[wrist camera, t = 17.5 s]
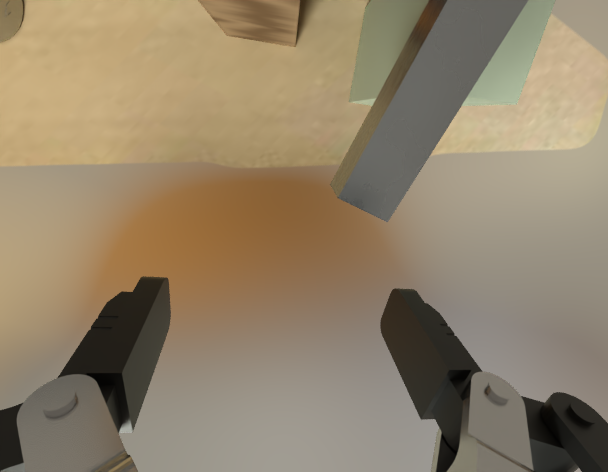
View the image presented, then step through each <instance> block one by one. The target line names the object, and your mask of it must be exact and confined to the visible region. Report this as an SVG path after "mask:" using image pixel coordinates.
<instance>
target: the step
mask: <svg viewBox="0 0 608 472" xmlns="http://www.w3.org/2000/svg"><path fill="white" fill-rule="evenodd" d="M428 1H429V0H371V1H370V2H369V4H368V5H367V6H366V8H365V13H364V19H363V24H362V30H361V36H360V41H359V47H358V53H357V58H356V64H355V70H354V75H353V81H352V87H351V92H350V98H349V102H351V103H358V104H364V105H371V106H372V105H373V104H374V102H375V100H376V98H377V96H378V94H379V92H380V90H381V89H382V87H383V85H384V83H385V81H386V79H387V77H388V76H389V74H390V72H391V70H392V68H393V66H394V64H395V62H396V61H397V59H398V57H399V55H400V53H401V51H402V49H403V48H404V46H405V44H406V42H407V40H408V38H409V36H410V34H411V33H412V31H413V29H414V27H415V25H416V23H417V21H418V20H419V18H420V16H421V14H422V12H423V10H424V8H425V6H426V5H427V3H428ZM554 3H555V0H528V2H527V3H526V5H525V6H524V8H523V10H522V11H521V13H520V14H519V16H518V18H517V19H516V21H515V22H514V24H513V25H512V27H511V29H510V30H509V32H508V33H507V35H506V36H505V38H504V40H503V41H502V43H501V44H500V46H499V47H498V49H497V51H496V52H495V54H494V55H493V57H492V58H491V60H490V62H489V63H488V65H487V66H486V68H485V70H484V71H483V73H482V74H481V76H480V77H479V79H478V81H477V82H476V84H475V85H474V87H473V88H472V90H471V92H470V93H469V95H468V96H467V98H466V99H465V101H464V103H463V104H462V106H478V105H515V104H517V103H518V100H519V97H520V94H521V92H522V89H523V86H524V84H525V81H526V78H527V76H528V73H529V70H530V68H531V65H532V62H533V59H534V57H535V54H536V51H537V49H538V46H539V43H540V41H541V38H542V35H543V33H544V30H545V27H546V24H547V22H548V19H549V16H550V14H551V11H552V8H553V5H554Z"/></svg>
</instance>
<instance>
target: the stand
mask: <svg viewBox="0 0 608 472" xmlns="http://www.w3.org/2000/svg"><path fill="white" fill-rule="evenodd" d="M198 1H199V2H200V3H201V5H202V6H203V7H204V8H205V10H206V11H207V12H208V13H209V14H210V16H211V17H212V18H213V19H214V20H215V22H216V23H217V24H218V25H219V27H220V28H221V29H222V30H223V31H224V33H225V34H226V35H227V36H232V37H238V38H244V39H250V40H256V41H262V42H268V43H274V44H280V45H286V46H292V47H295V45H296V35H297V26H298V17H299V8H300V0H198Z"/></svg>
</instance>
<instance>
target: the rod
mask: <svg viewBox="0 0 608 472" xmlns="http://www.w3.org/2000/svg"><path fill="white" fill-rule="evenodd" d="M527 2H528V0H429V1H428V3H427V5H426V6H425V8H424V10H423V12H422V14H421V16H420V18H419V20H418V21H417V23H416V25H415V27H414V29H413V31H412V33H411V34H410V36H409V38H408V40H407V42H406V44H405V46H404V48H403V49H402V51H401V53H400V55H399V57H398V59H397V61H396V62H395V64H394V66H393V68H392V70H391V72H390V74H389V76H388V77H387V79H386V81H385V83H384V85H383V87H382V89H381V90H380V92H379V94H378V96H377V98H376V100H375V102H374V104H373V105H372V107H371V109H370V111H369V113H368V115H367V117H366V118H365V120H364V122H363V124H362V126H361V128H360V130H359V132H358V133H357V135H356V137H355V139H354V141H353V143H352V145H351V146H350V148H349V150H348V152H347V154H346V156H345V158H344V160H343V161H342V163H341V165H340V167H339V169H338V171H337V173H336V175H335V176H334V178H333V180H332V182H331V184H330V185H331V187H332V188H333V190H334V192H335V194H336V196H337V197H338V198H339V199H341V200H343V201H345V202H347V203H350V204H351V205H353V206H356V207H357V208H359V209H361V210H364V211H366V212H368V213H370V214H372V215H374V216H376V217H378V218H380V219H382V220H384V221H386V222H388V221H389V219H390V217H391V216H392V214H393V213H394V211H395V210H396V208H397V207H398V205H399V203H400V202H401V200H402V199H403V197H404V196H405V194H406V192H407V191H408V189H409V188H410V186H411V184H412V183H413V181H414V180H415V178H416V177H417V175H418V173H419V172H420V170H421V169H422V167H423V165H424V164H425V162H426V161H427V159H428V158H429V156H430V155H431V153H432V151H433V150H434V148H435V147H436V145H437V144H438V142H439V140H440V139H441V137H442V136H443V134H444V133H445V131H446V129H447V128H448V126H449V125H450V123H451V121H452V120H453V118H454V117H455V115H456V114H457V112H458V110H459V109H460V107H461V106H462V104H463V103H464V101H465V99H466V98H467V96H468V95H469V93H470V92H471V90H472V88H473V87H474V85H475V84H476V82H477V81H478V79H479V77H480V76H481V74H482V73H483V71H484V70H485V68H486V66H487V65H488V63H489V62H490V60H491V58H492V57H493V55H494V54H495V52H496V51H497V49H498V47H499V46H500V44H501V43H502V41H503V40H504V38H505V36H506V35H507V33H508V32H509V30H510V29H511V27H512V25H513V24H514V22H515V21H516V19H517V18H518V16H519V14H520V13H521V11H522V10H523V8H524V6H525V5H526V3H527Z"/></svg>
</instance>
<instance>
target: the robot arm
mask: <svg viewBox="0 0 608 472" xmlns="http://www.w3.org/2000/svg"><path fill="white" fill-rule="evenodd" d="M22 17H23V3H22V0H0V42H3V41H6V40H8V39H10V38H11V37H12V36H14V35H15V33H16V32H17V31H18V29H19V27H20V25H21V22H22ZM170 314H171V311H170V294H169V282H168V278H162V277H161V278H160V277H141V278H140V280H139V282H138V283H137V285H136V287H135V289H134V290H133V292H121V293H119V294H118V295H117V296H115V297H114V298H113V299H111V300H110V301H109V302H107V304H106V305H105V306H104V308H103V310H102V311H101V313H100V314H99V316H98V319H96V320H95V322H94V323H93V325H92V326H91V330H89V331H88V332H87V334H86V336H85V337H84V338H83V340H82V342H81V343H80V345H79V346H78V348H77V349H76V351H75V352H74V354H73V355H72V357H71V358H70V360H69V361H68V363H67V364H66V366H65V367H64V369H63V370H62V372H61V374H60V375H59V376H58V378H57V379H54V380H52V381H50V382H48V383H46V384H44V385H43V386H41V387H40V388H38V389H37V390H36V391H35V392H33V393H32V394H31V395H30V396H29V397H28V398H27V399H26V400H25V402H24V403H22V404H19V405H16V406H14V407H11V408H7V409H4V410H0V472H138V470H137V468H136V466H135V464H134V462H133V460H132V458H131V456H130V455H128V454H127V453H126V451H125V448H124V446H123V443H122V441H121V439H120V436H119V433H125V432H133V430H134V427H135V424H136V421H137V418H138V416H139V412H140V409H141V407H142V404H143V401H144V398H145V395H146V393H147V390H148V387H149V384H150V381H151V378H152V375H153V373H154V370H155V367H156V364H157V361H158V358H159V356H160V353H161V350H162V347H163V344H164V341H165V339H166V336H167V333H168V329H169V325H170V317H171V315H170ZM381 333H382V336H383V338H384V340H385V342H386V344H387V347H388V349H389V351H390V353H391V355H392V358H393V360H394V362H395V364H396V366H397V368H398V371H399V373H400V375H401V377H402V379H403V381H404V384H405V386H406V388H407V390H408V392H409V395H410V397H411V399H412V401H413V403H414V405H415V408H416V410H417V412H418V414H419V416H420V418H421V419H435V420H436V422H437V424H438V426H439V430H438V432H437V436H436V442H435V449H434V455H433V461H432V468H431V472H574V471H575V470H577V469H578V468H580V470H581V471H582V472H608V423H607V422H606V421H605V420H604V419H603V418H602V417H601V416H600V415H599V414H598V413H597V412H596V411H595V410H594V409H592V408H591V407H590V406H589V405H587V404H586V403H584V402H583V401H581V400H579V399H578V398H576V397H574V396H571V395H569V394H566V393H560V392H559V393H558V392H557V393H553V394H552V395H551V396H550V397H549V398H548V400H547V401H546V402H545V403H543V402H540V401H536V400H533V399H529V398H526V397H523V396H520V394H519V393H518V392H517V391H516V390H515V389H514V387H512V386H511V385H510V384H509V383H508V382H506V381H505V380H503V379H502V378H500V377H498V376H496V375H494V374H491V373H488V372H482V370H481V369H480V368H479V367H478V365H477V364H476V362H475V361H474V360H473V358H472V357H471V355H470V354H469V353H468V351H467V350H466V349H465V347H464V346H463V345H462V343H461V342H460V341H459V339H458V338H457V336H454V332H453V331H452V330H451V328H450V327H448V326H447V323H446V322H445V320H444V319H443V317H442V316H441V315H440V313H438V312H437V311H436V310H435V309H434V308H432V307H431V306H430V305H429V304H426V303H424V301H423V300H422V299H421V297H420V296H419V294H418V293H417V291H415V290H413V289H393V290H392V292H391V294H390V296H389V299H388V302H387V304H386V307H385V310H384V313H383V315H382V318H381Z"/></svg>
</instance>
